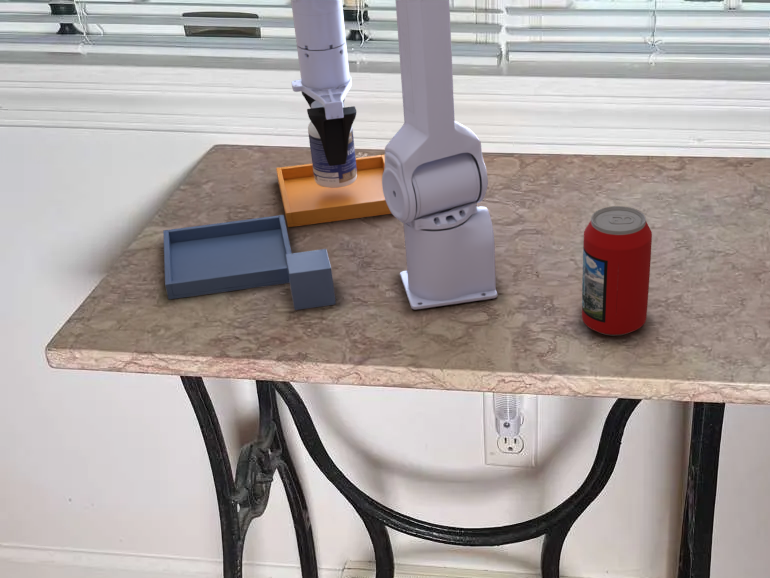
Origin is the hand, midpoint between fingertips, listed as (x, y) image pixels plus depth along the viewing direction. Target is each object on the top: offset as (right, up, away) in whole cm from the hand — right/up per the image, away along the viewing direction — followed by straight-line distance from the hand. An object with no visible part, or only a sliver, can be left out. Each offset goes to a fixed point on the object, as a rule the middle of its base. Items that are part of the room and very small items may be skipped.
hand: (334, 153), depth 146 cm
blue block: (-1, -20, -16) cm, 25 cm away
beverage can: (+32, -24, -22) cm, 45 cm away
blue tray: (-11, -15, -9) cm, 21 cm away
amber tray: (0, -4, +4) cm, 6 cm away
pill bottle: (0, -3, +2) cm, 4 cm away
